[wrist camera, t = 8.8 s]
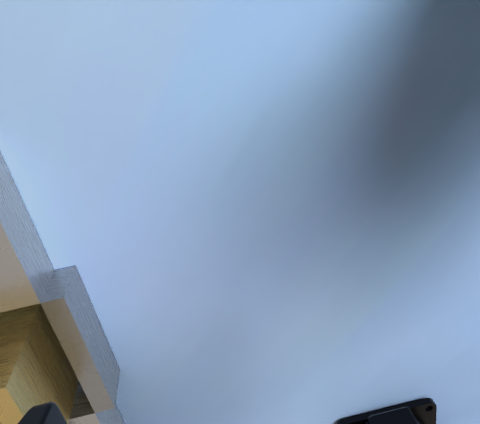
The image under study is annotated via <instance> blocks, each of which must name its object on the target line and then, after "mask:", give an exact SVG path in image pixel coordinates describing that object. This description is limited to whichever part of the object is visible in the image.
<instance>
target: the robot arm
mask: <svg viewBox="0 0 480 424" xmlns="http://www.w3.org/2000/svg"><path fill="white" fill-rule="evenodd" d="M18 424H67V422H66V420H65V418H64V417H63V415H62V413H61V411H60V409H59V408H58V406H57V404H56V403H54V402H48V403H44V404H39V405H35V406H33V407H32V408H30V409H29V410H28V411H27V413H26V414H25V415H24V416H23V418H22V419H21V420H20V421H19V422H18ZM337 424H436V404H435V403H434V401H433V400H432V399H431V398H425V399H421V400H417V401H413V402H409V403H405V404H401V405H397V406H393V407H390V408H386V409H382V410H378V411H374V412H370V413H366V414H362V415H358V416H354V417H350V418H346V419H342V420H340V421H339V422H338V423H337Z"/></svg>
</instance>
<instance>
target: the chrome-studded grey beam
mask: <svg viewBox="0 0 480 424" xmlns="http://www.w3.org/2000/svg"><path fill="white" fill-rule="evenodd" d="M39 303H40V304H41V306H42V308H43V310H44V312H45V314H46V316H47V318H48V320H49V322H50V324H51V326H52V328H53V330H54V332H55V334H56V336H57V338H58V340H59V342H60V344H61V346H62V348H63V350H64V352H65V354H66V356H67V358H68V360H69V362H70V364H71V366H72V368H73V370H74V372H75V374H76V376H77V378H78V380H79V381H78V385H77V389H76V394H75V398H74V402H73V406H72V410H71V415H70V419H69V423H68V424H124V422H123V419H122V417H121V415H120V413H119V411H118V409H117V406H116V396H117V389H118V381H119V374H120V369H119V366H118V364H117V362H116V359H115V357H114V355H113V352H112V350H111V348H110V345H109V343H108V341H107V338H106V336H105V334H104V331H103V329H102V327H101V324H100V322H99V320H98V317H97V315H96V313H95V310H94V308H93V306H92V303H91V301H90V299H89V296H88V294H87V292H86V289H85V287H84V285H83V282H82V280H81V278H80V275H79V273H78V271H77V268H76V266H70V267H66V268H62V269H57V270H54V269H53V266H52V264H51V262H50V260H49V258H48V255H47V253H46V251H45V249H44V247H43V244H42V242H41V240H40V238H39V236H38V234H37V231H36V229H35V227H34V225H33V223H32V220H31V218H30V216H29V214H28V212H27V209H26V207H25V205H24V203H23V201H22V199H21V196H20V194H19V192H18V190H17V188H16V185H15V183H14V181H13V179H12V177H11V175H10V172H9V170H8V168H7V166H6V164H5V161H4V159H3V157H2V155H1V153H0V312H5V311H9V310H13V309H18V308H22V307H26V306H31V305H35V304H39Z"/></svg>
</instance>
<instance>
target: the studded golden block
mask: <svg viewBox="0 0 480 424" xmlns="http://www.w3.org/2000/svg"><path fill="white" fill-rule="evenodd" d="M78 381H79V380H78V378H77V376H76V374H75V372H74V370H73V368H72V366H71V364H70V362H69V360H68V358H67V356H66V354H65V352H64V350H63V348H62V346H61V344H60V342H59V340H58V338H57V336H56V334H55V332H54V330H53V328H52V326H51V324H50V322H49V320H48V318H47V316H46V314H45V312H44V310H43V308H42V306H41V304H40V303H39V304H35V305H31V306H26V307H22V308H18V309H13V310H9V311H5V312H0V424H18V422H19V421H20V420H21V419H22V418H23V416H24V415H25V414H26V413H27V411H28V410H29V409H30V408H32V407H33V406H35V405H39V404H44V403H48V402H54V403H56V404H57V406H58V408H59V409H60V411H61V413H62V415H63V417H64V418H65V420H66V422H67V424H68V423H69V419H70V415H71V410H72V406H73V402H74V398H75V394H76V389H77V385H78Z"/></svg>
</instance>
